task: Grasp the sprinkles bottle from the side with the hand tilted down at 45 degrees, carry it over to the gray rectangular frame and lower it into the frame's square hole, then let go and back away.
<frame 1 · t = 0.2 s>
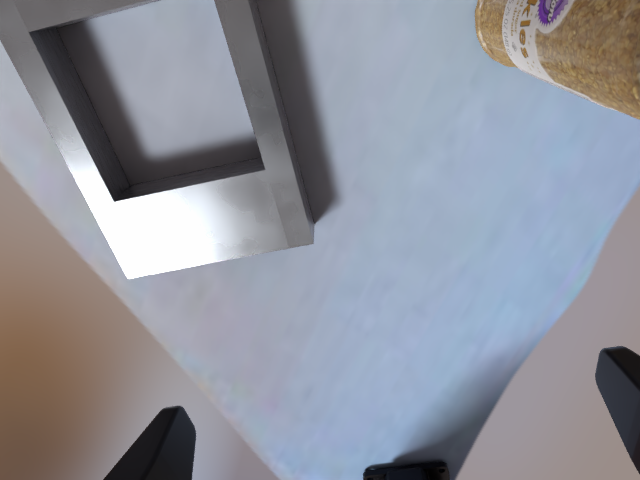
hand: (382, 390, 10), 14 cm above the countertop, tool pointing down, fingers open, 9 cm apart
sprinkles bottle: (524, 10, 19), on the countertop
gray rectangular frame: (170, 96, 20), on the countertop
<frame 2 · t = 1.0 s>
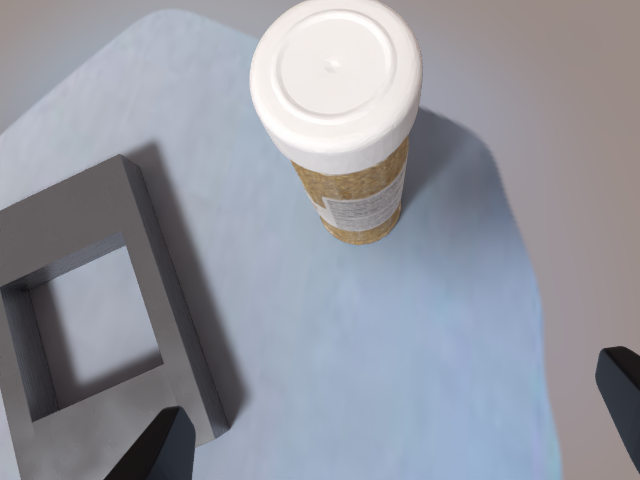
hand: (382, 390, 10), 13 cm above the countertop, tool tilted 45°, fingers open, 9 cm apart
sprinkles bottle: (360, 207, 24), on the countertop
gray rectangular frame: (101, 324, 25), on the countertop
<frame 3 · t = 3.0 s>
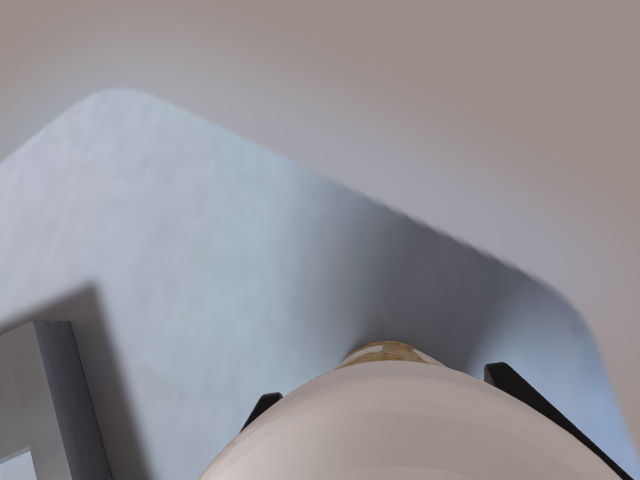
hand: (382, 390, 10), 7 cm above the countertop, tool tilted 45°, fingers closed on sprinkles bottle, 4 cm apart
sprinkles bottle: (390, 403, 16), on the countertop, touching gripper
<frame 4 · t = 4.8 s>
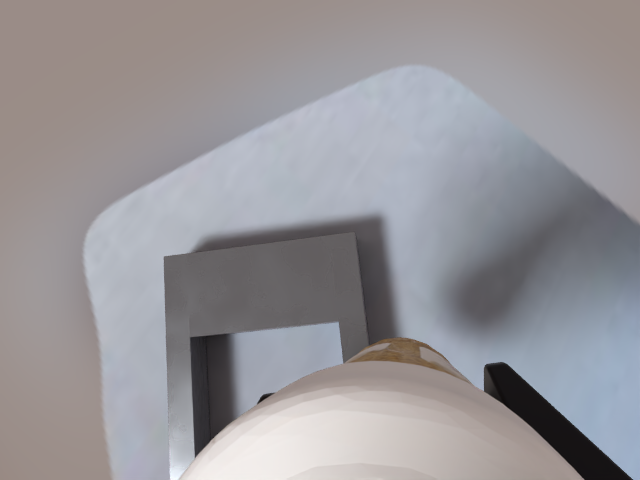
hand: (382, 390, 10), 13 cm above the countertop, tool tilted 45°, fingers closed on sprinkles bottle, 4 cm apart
sprinkles bottle: (402, 399, 16), point 6 cm above the countertop, touching gripper
gray rectangular frame: (278, 403, 23), on the countertop
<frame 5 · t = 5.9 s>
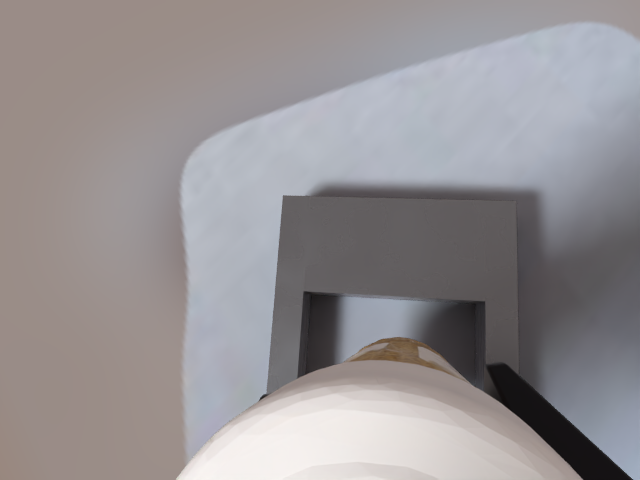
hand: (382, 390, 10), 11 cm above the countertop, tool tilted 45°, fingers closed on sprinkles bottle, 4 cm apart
sprinkles bottle: (400, 399, 16), point 3 cm above the countertop, touching gripper
gray rectangular frame: (387, 383, 20), on the countertop
when the fingers open (9 cm above the countertop, at t = 6.5 s): sprinkles bottle drops 2 cm, resting in gray rectangular frame.
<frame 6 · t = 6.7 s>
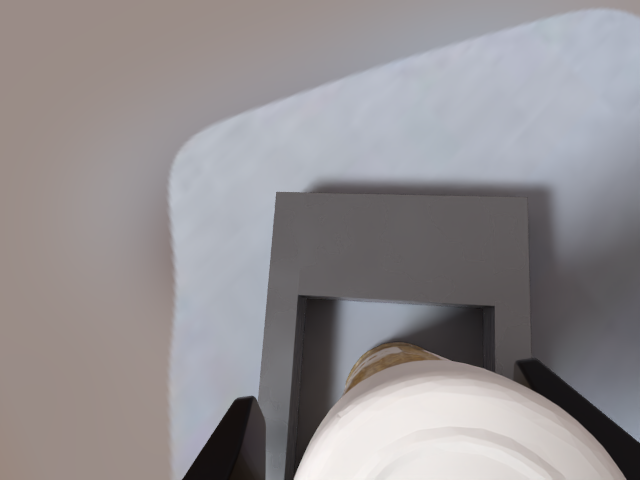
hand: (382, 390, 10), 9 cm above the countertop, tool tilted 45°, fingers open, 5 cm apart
sprinkles bottle: (399, 398, 18), resting in gray rectangular frame, touching gripper
gray rectangular frame: (389, 394, 18), on the countertop
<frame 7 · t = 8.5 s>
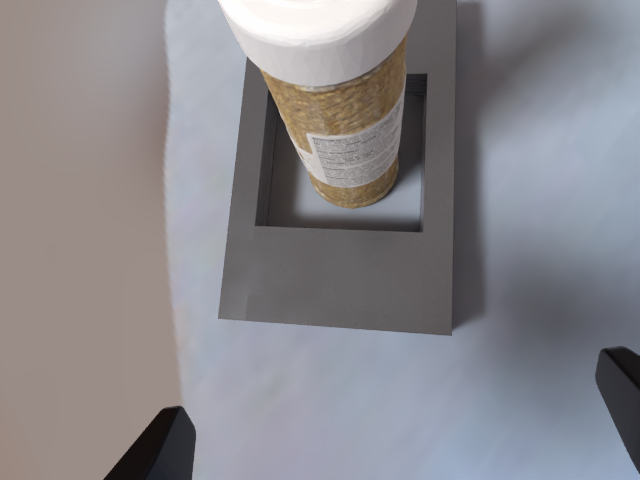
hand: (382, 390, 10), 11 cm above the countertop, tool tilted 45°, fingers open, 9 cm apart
sprinkles bottle: (354, 169, 22), resting in gray rectangular frame
gray rectangular frame: (345, 164, 22), on the countertop
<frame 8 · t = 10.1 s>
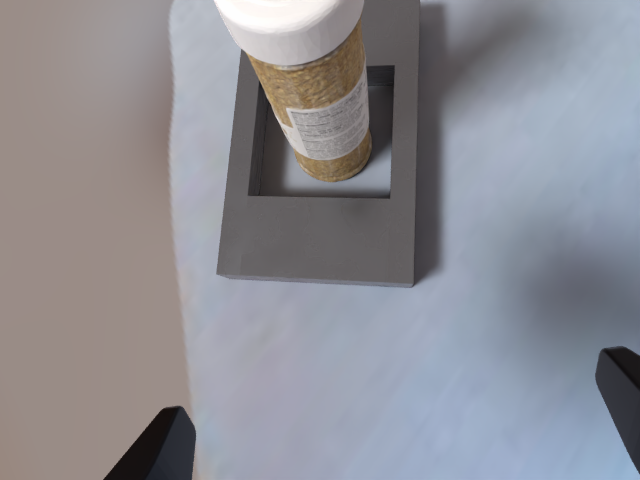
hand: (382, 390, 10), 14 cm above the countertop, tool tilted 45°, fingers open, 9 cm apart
sprinkles bottle: (334, 149, 26), resting in gray rectangular frame
gray rectangular frame: (326, 145, 25), on the countertop
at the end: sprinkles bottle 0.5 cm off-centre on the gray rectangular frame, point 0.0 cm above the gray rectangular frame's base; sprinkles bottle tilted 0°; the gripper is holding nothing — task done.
